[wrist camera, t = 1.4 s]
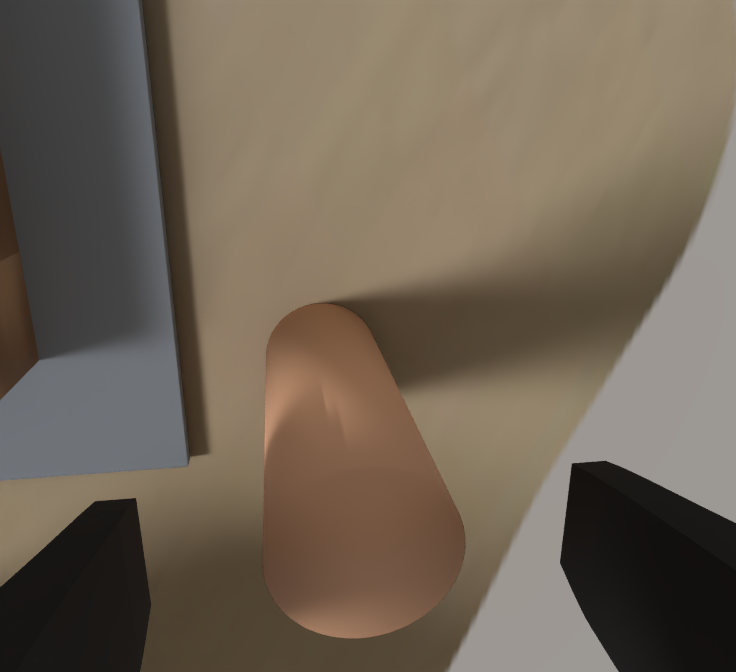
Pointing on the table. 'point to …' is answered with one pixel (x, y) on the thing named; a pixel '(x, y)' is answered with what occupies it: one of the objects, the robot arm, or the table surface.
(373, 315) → the table surface
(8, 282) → the square frame
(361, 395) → the dowel
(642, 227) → the table surface
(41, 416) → the mat
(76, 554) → the robot arm
